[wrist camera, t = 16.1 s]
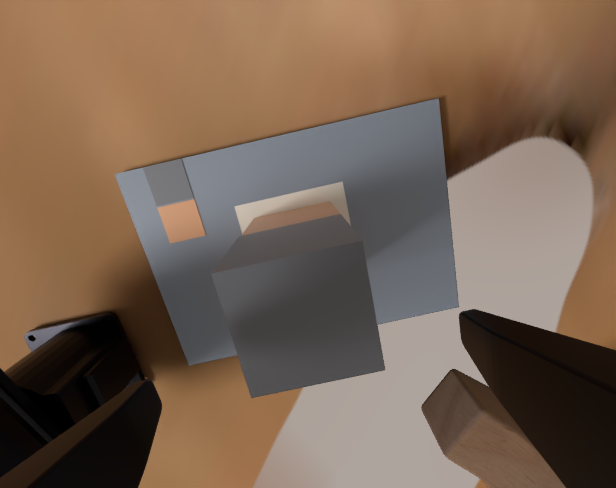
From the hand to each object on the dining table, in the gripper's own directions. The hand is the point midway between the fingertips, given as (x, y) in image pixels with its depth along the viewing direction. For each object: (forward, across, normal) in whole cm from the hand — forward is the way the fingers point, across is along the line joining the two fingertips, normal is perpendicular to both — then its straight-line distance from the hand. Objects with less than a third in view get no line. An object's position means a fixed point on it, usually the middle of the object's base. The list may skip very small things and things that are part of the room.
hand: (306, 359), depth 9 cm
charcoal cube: (+7, 0, 0) cm, 7 cm away
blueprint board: (+12, 0, 0) cm, 12 cm away
